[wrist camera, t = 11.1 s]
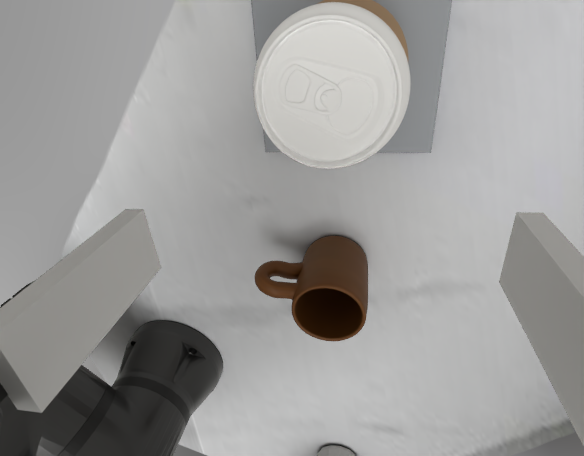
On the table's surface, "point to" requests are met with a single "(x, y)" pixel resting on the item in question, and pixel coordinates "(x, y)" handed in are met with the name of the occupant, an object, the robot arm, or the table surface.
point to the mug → (323, 288)
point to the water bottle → (335, 451)
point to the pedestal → (415, 41)
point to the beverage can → (331, 85)
